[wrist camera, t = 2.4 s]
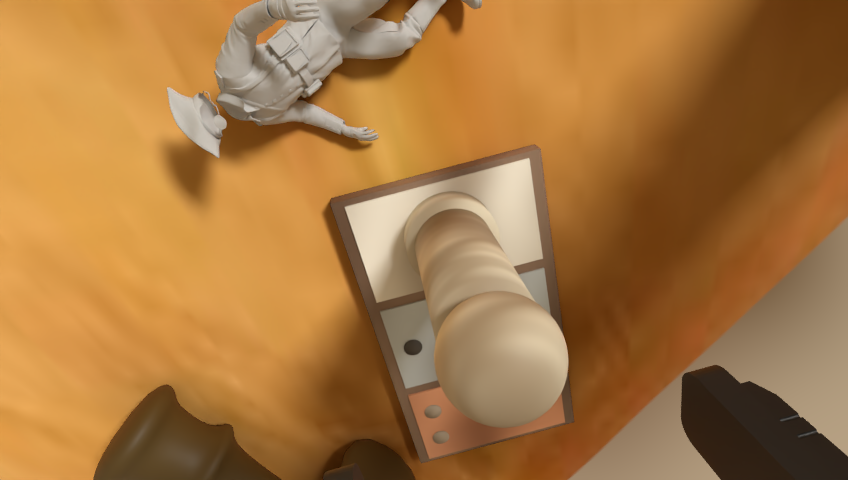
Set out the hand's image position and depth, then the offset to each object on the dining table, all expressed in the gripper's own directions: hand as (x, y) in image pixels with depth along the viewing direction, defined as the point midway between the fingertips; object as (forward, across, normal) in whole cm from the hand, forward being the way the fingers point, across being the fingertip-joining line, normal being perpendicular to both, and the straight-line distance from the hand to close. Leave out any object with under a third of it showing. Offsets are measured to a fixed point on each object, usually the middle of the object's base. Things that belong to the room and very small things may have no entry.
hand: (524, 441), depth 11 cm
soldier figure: (+14, +2, -9) cm, 17 cm away
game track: (+13, 0, +6) cm, 15 cm away
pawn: (+12, 0, 0) cm, 12 cm away
